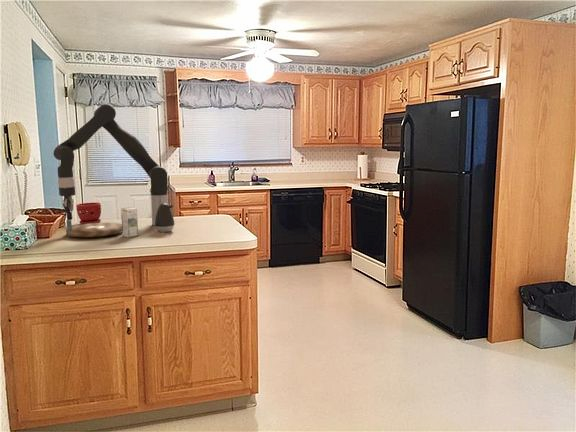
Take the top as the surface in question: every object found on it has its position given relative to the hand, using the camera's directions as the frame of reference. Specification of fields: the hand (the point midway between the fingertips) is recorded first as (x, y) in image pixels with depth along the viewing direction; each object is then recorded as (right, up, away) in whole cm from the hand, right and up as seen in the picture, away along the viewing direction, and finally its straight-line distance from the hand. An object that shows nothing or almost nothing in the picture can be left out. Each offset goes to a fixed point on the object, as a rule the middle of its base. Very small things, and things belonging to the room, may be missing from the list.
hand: (69, 219), depth 241 cm
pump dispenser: (+46, -7, +10) cm, 48 cm away
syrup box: (+32, -9, -1) cm, 33 cm away
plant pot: (-3, -3, +33) cm, 33 cm away
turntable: (+12, -6, +4) cm, 14 cm away
